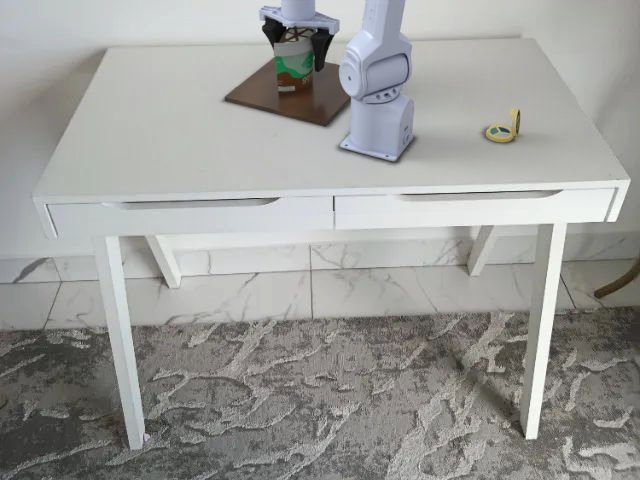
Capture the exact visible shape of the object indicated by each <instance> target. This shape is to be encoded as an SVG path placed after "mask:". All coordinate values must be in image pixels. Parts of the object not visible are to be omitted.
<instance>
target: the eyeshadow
mask: <svg viewBox="0 0 640 480" xmlns="http://www.w3.org/2000/svg"><path fill="white" fill-rule="evenodd" d="M510 116H511V118H512V119H511V120H512V121H511V127H510V126H509V125H505V124H491V125H490V126H489V127H488V129H486V131H485V137H487V139H489V140H491V141H493V142H496V143H508V142H510V141H512V140H513V139H514V137H518V135H519V133H520V127H521V126H520V125H521V109H520V108H517V107H515V108H511V109H510Z"/></svg>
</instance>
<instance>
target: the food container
mask: <svg viewBox="0 0 640 480" xmlns="http://www.w3.org/2000/svg"><path fill="white" fill-rule="evenodd" d="M315 32H317V30H316V29H311V28H306V27H301V26H294V27H292V28H291V27H287V30H285V32H284V33H283V35H282V37H281V39H280V41H279V43H274V51H273V57H275V61H276V72H277V83H278V94H279V95H291V94H297V93H301V92H303V91H306V90H308V89H309V88H310V87H311V86H312V82H313V65H314V50H313V45H312V42H311V36H312V35H313V34H314V33H315Z"/></svg>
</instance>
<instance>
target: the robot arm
mask: <svg viewBox="0 0 640 480" xmlns="http://www.w3.org/2000/svg"><path fill="white" fill-rule="evenodd" d="M406 1H407V0H364V7H363V15H362V20H361V21H362V22H361V28H360V30H359V31H358V33H356V35H354V37H352V39H350V41H349V42H348V43H347V44H346V46H345V52H344V56H343V57H342V59H341V61H340V62H339V65H340V68H339V78H340V82H341V85H342V87H343V89H344V90H345V92H346V93H347V94H348V95H349V96H350V97H351V100H350V124H349V125H350V126H349V129H350V131H349V134H348V135H347V136H346V137H345V139H343V141H342V142H341V143H340V144H339V145H340V148H341V149H344V150H348V151H352V152H355V153H359V154H363V155H366V156H370V157H374V158H378V159H382V160H384V161H385V160H386V161H389V162H396V161H397V160H398V159H399V157H400V156H401V155H402V154H403V152H404V151H405V150H406V148H407V147H408V146H409V144H410V142H412V141H413V139H414V135H413V134H412V133H413V125H414V115H415V114H414V113H415V101H414V99H412V98H411V97H408V96H406V95H404V94H403V93H401V92H403V90H404V84H406V83H408V82H409V81H410V79H411V77H412V73H413V61H412V50H413V43H412V42H411V40H410V39H409V38H408V36H406V35H405V34H404V33H403V32H401V30H402V29H401V28H402V22H403V17H404V12H405V6H406ZM258 17H259V21H261V22H264V24H262V25H261V31H262V33H263V34H264V35H265V37H266V38H267V40H268V42H269V44H270V45H271V48H272V51H273V52H274V43H279V41H280V39H281V37H282V35H283V33H284V32H285V30H287V29H288V27H291V28H292V27H294V26H301V27H306V28H311V29H316V31H317V32H315V33H314V34H313V35H312V36H311V42H312V45H313V50H314V67H315V71H316V72H320V71H321V70H322V69H323V68H324V63H325V62H326V58H327V55H328V52H329V48H330V46H331V44H332V42H333V40H334V38H335V36H336V34H338V33H339V32H340V27H341V25H340V23H341V22H340V21H341V20H340V19H339V18H338V19H337V18H335V17H330V16H328V15H326V14H325V13H321V12H318V11H317V10H316V0H280V6H271V5H270V6H269V5H264V6H262V7H260V8H258Z"/></svg>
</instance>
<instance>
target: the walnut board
mask: <svg viewBox="0 0 640 480" xmlns="http://www.w3.org/2000/svg"><path fill="white" fill-rule="evenodd" d="M339 68H340V64H337V63H333V62H328V61H325V63H324V68H323V69H322V70H321V71H320V72H316V71H315V67H314V65H313V82H312V86H311V87H310V88H309V89H308V90H306V91H303V92H301V93H297V94H291V95H279V94H278V83H277V72H276V61H275V56H273V57H272V58H271V59H270V60H268V62H266V63H265V64H264V65H262V66H261V67H260V68H259V69H258V70H255V72H254V73H252V74H251V75H249V77H248V78H246V79H245V80H243V82H241V83H240V84H239V85H237V86H236V87H235V88H234V89H232V90H231V91H229V92H228V93H227V94H226V95H225V96H224V101H225V102H228V103H233V104H236V105H240V106H244V107H248V108H252V109H256V110H260V111H264V112H267V113H271V114H276V115H280V116H284V117H288V118H291V119H295V120H299V121H302V122H307V123H311V124H314V125H319V126H323V127H326V126H328V124H330V122H331V121H332V120H333V119H334V118H335V117H336V116H337V115H338V114H339V113H340V112H341V111H342V109H344V108H345V106H347V104H349V103H350V102H351V97H350V96H349V95H348V94H347V93H346V92H345V90H344V89H343V87H342V85H341V82H340V78H339Z"/></svg>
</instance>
